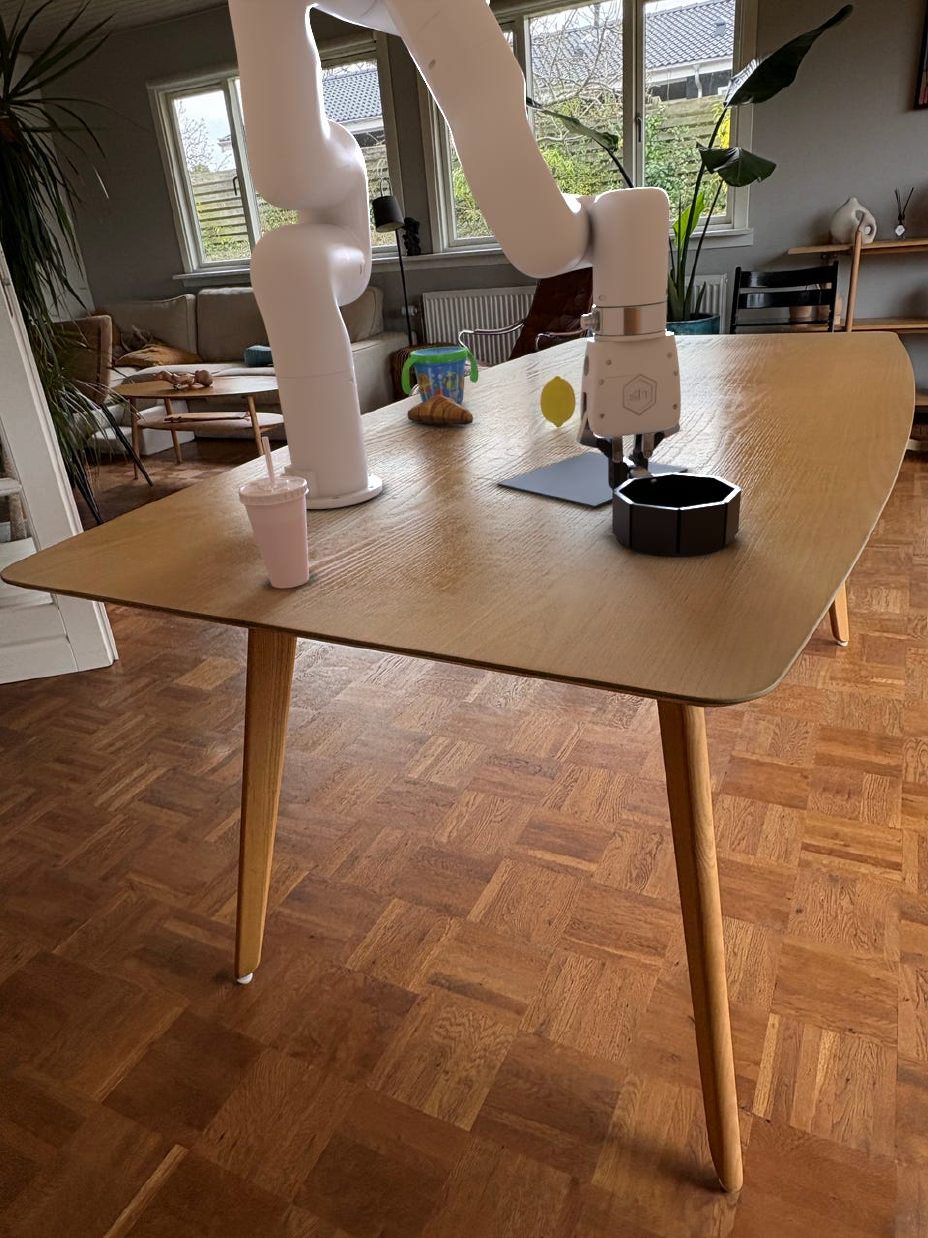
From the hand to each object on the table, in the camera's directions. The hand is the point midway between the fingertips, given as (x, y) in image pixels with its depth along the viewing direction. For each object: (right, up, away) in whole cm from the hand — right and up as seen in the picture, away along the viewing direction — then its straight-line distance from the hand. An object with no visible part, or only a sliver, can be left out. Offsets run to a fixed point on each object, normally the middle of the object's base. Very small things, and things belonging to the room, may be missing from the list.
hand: (627, 491), depth 92 cm
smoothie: (-36, -11, -13) cm, 40 cm away
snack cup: (-23, +25, +60) cm, 69 cm away
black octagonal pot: (+2, -4, -6) cm, 7 cm away
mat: (-2, +3, +10) cm, 11 cm away
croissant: (-23, +19, +47) cm, 55 cm away
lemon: (-4, +16, +37) cm, 41 cm away
